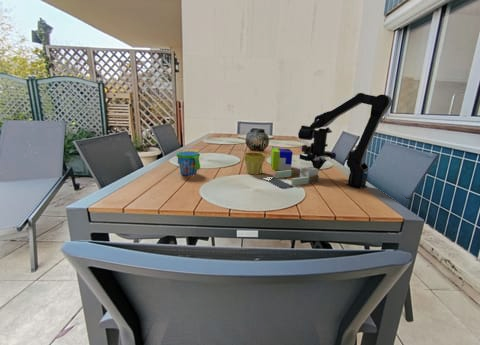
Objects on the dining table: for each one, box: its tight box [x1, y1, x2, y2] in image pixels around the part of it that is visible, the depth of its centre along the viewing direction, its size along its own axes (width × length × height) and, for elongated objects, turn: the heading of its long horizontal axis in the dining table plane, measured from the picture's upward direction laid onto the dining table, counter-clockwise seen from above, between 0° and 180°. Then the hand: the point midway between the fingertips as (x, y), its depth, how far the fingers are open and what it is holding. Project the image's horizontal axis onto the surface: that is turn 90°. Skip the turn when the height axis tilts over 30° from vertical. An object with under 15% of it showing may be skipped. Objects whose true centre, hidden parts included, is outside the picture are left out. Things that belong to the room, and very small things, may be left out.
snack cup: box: [176, 150, 201, 176], centre depth 118 cm, size 16×10×10 cm
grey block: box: [299, 165, 320, 177], centre depth 119 cm, size 6×6×5 cm
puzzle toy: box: [270, 147, 293, 171], centre depth 137 cm, size 10×10×10 cm
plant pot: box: [243, 151, 266, 175], centre depth 124 cm, size 10×10×10 cm
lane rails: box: [274, 168, 320, 186], centre depth 116 cm, size 13×15×3 cm
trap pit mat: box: [266, 176, 294, 189], centre depth 111 cm, size 16×6×1 cm, turn 28°
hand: (315, 173), depth 122 cm, fingers closed
